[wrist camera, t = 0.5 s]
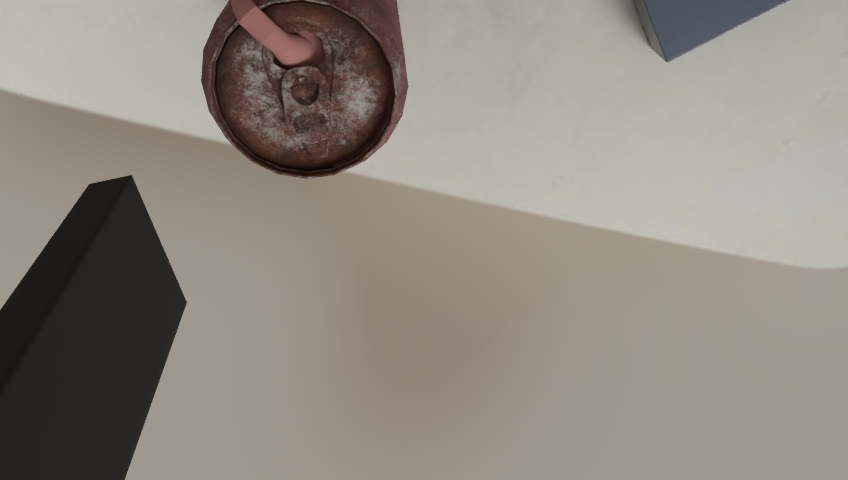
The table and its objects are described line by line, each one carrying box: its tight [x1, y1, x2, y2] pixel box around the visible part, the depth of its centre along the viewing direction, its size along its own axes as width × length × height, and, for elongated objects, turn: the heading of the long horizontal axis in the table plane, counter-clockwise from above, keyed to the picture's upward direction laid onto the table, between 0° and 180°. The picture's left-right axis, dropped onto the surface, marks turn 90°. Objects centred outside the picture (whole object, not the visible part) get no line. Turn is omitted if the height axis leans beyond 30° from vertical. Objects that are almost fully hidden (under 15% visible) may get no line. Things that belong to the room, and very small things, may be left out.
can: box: [201, 0, 408, 179], centre depth 28 cm, size 6×6×14 cm
